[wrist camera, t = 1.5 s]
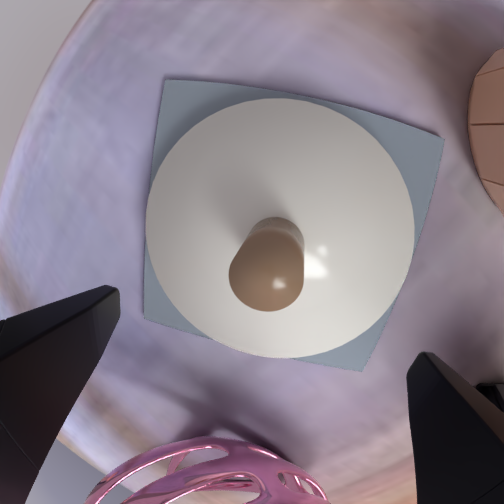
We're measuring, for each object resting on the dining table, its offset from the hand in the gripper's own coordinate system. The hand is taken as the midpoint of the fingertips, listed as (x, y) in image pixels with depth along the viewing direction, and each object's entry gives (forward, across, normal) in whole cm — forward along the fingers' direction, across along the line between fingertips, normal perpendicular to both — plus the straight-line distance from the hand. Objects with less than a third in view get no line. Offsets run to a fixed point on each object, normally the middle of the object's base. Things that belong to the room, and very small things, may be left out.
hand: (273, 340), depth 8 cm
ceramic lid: (+12, 0, +2) cm, 13 cm away
